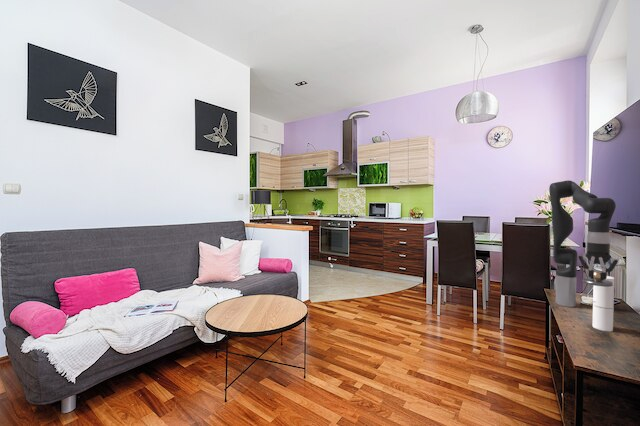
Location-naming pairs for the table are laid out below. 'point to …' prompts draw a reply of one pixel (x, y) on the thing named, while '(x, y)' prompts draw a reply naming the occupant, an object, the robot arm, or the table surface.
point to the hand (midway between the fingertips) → (597, 279)
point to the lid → (597, 280)
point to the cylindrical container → (603, 306)
